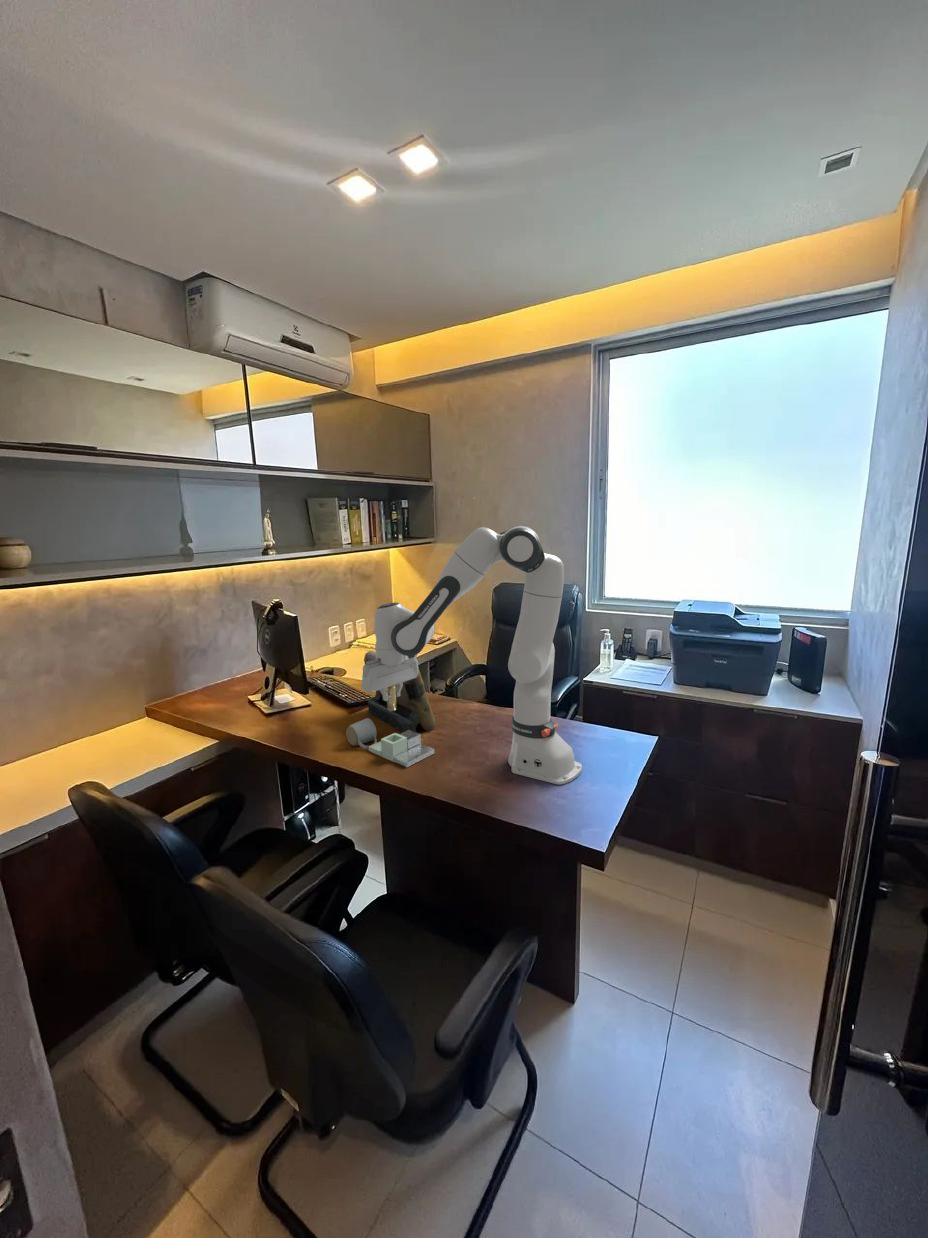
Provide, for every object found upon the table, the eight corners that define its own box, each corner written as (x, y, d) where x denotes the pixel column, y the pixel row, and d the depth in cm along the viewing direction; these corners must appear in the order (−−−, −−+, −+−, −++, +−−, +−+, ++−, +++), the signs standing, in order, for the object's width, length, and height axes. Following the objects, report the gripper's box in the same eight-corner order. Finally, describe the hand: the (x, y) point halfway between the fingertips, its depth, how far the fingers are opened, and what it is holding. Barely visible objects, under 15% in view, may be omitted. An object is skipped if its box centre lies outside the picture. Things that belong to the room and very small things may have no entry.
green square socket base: (421, 748, 161) (420, 731, 160) (393, 762, 152) (392, 744, 151) (396, 738, 168) (395, 722, 167) (368, 750, 160) (367, 733, 158)
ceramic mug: (345, 743, 166) (343, 721, 164) (365, 735, 171) (364, 715, 170) (362, 753, 158) (361, 731, 157) (383, 745, 164) (382, 724, 162)
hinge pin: (398, 709, 153) (397, 681, 151) (391, 711, 151) (390, 683, 149) (392, 707, 155) (391, 679, 153) (385, 709, 153) (384, 682, 151)
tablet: (442, 726, 178) (441, 660, 173) (413, 738, 168) (410, 669, 164) (388, 704, 200) (385, 645, 196) (359, 714, 191) (356, 652, 186)
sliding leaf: (434, 753, 157) (434, 739, 156) (406, 767, 148) (406, 752, 147) (409, 743, 164) (408, 729, 163) (381, 756, 155) (380, 742, 154)
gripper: (369, 664, 140) (371, 710, 142) (420, 650, 155) (422, 692, 158) (356, 660, 144) (358, 705, 146) (407, 647, 159) (408, 687, 162)
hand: (391, 698), depth 152 cm, fingers closed on hinge pin, 3 cm apart
